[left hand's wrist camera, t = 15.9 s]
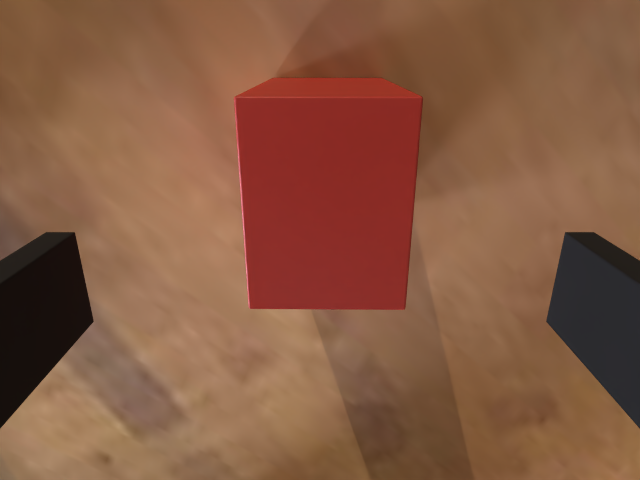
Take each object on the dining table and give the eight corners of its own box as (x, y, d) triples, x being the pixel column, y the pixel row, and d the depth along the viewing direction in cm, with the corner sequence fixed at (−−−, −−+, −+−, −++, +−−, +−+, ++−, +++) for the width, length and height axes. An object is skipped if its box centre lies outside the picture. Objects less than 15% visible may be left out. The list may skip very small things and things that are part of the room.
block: (382, 77, 25) (423, 96, 15) (375, 214, 28) (405, 310, 18) (271, 77, 25) (233, 96, 15) (277, 214, 28) (248, 309, 18)
